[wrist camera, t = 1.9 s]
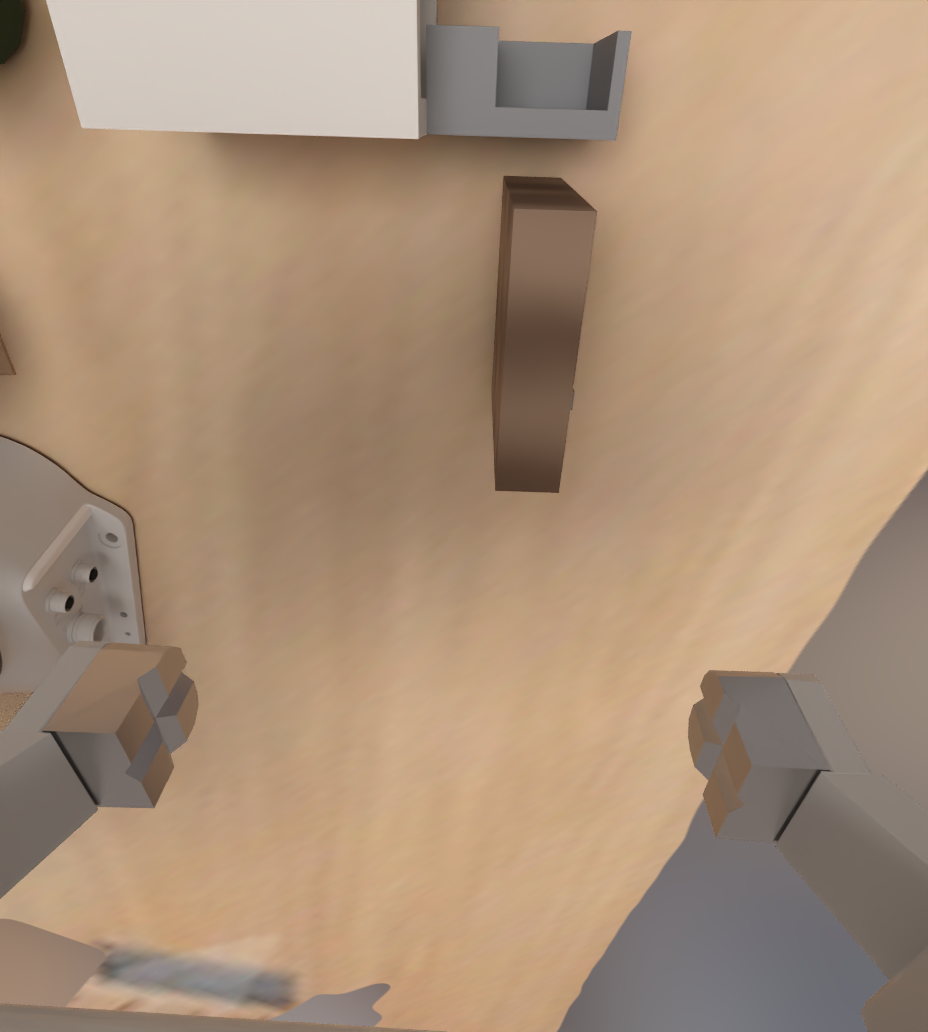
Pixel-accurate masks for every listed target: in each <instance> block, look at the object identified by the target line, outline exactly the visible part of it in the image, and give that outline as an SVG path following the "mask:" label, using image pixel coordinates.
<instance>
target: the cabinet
mask: <svg viewBox="0 0 928 1032" xmlns="http://www.w3.org/2000/svg"><path fill="white" fill-rule="evenodd" d="M46 2H47V6H48V9H49V13H50V16H51V20H52V23H53V27H54V31H55V34H56V38H57V41H58V45H59V48H60V52H61V56H62V59H63V63H64V66H65V70H66V73H67V77H68V81H69V84H70V88H71V91H72V95H73V99H74V102H75V106H76V109H77V113H78V116H79V120H80V124H81V127H82V128H93V129H123V130H154V131H185V132H216V133H247V134H278V135H308V136H339V137H370V138H401V139H420V138H421V137H423V136H425V135H427V134H431V135H462V136H493V137H524V138H555V139H585V140H616V136H617V129H618V122H619V115H620V108H621V101H622V94H623V87H624V80H625V73H626V66H627V59H628V53H629V46H630V39H631V32H632V31H617V32H615V33H613V34H611V35H609V36H607V37H606V38H604V39H602V40H600V41H598V42H596V43H594V44H584V43H553V42H521V41H498V36H499V27H486V26H454V25H437V0H46Z"/></svg>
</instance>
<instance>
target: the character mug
mask: <svg viewBox="0 0 928 1032" xmlns="http://www.w3.org/2000/svg"><path fill="white" fill-rule="evenodd" d="M24 12H25V10H24V7H23V4H22V1H21V0H0V64H4V63H5V62H6V60H7V59H8V58H9V57H10V55H11V54H12V53H13V52H14V51H15V49H16V48H17V47H18V46H19V45H20V41H21V34H22V26H23V19H24Z"/></svg>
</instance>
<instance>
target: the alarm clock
mask: <svg viewBox="0 0 928 1032" xmlns="http://www.w3.org/2000/svg"><path fill="white" fill-rule="evenodd" d="M15 374H16V373H15V370H14V368H13V365H12V363H11V360H10V358H9V355H8V353H7V350H6V348H5V345H4V343H3V340H2V338H1V335H0V375H15Z"/></svg>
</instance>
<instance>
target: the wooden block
mask: <svg viewBox="0 0 928 1032" xmlns="http://www.w3.org/2000/svg"><path fill="white" fill-rule="evenodd" d="M596 216H597V211H596V210H595V209H594V208H593V207H592V206H591V205H590V204H589V203H587V202H586V201H585V200H584V199H583V198H582V197H581V196H580V195H579V194H578V193H577V192H576V191H574V190H573V189H572V188H571V187H570V186H569V185H568V184H567V183H566V182H565V181H564V180H563V179H561V178H551V177H521V176H504V178H503V196H502V214H501V232H500V250H499V268H498V286H497V303H496V321H495V339H494V357H493V375H492V414H493V441H494V467H495V491H522V492H551V493H559V487H560V479H561V472H562V465H563V457H564V450H565V443H566V436H567V428H568V421H569V414H570V410H572V407H573V399H574V389H573V384H574V377H575V370H576V362H577V355H578V348H579V340H580V333H581V326H582V318H583V311H584V304H585V296H586V289H587V282H588V274H589V267H590V260H591V252H592V245H593V238H594V230H595V223H596Z"/></svg>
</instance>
